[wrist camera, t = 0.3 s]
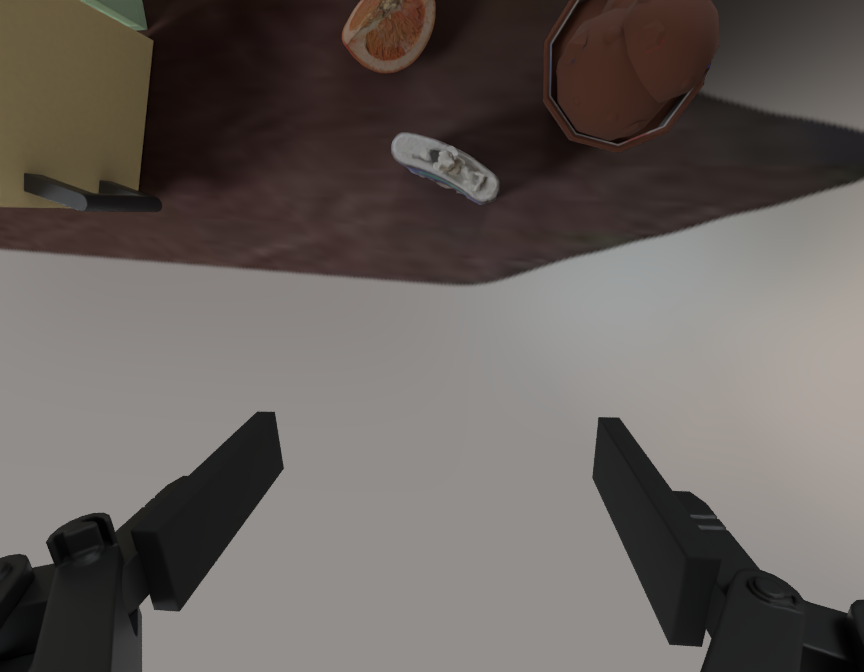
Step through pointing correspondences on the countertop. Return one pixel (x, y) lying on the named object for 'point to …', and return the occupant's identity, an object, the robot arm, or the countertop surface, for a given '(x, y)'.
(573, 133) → the ice cream bowl
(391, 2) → the fruit slice
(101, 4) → the cupboard
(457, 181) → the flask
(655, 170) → the countertop surface
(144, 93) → the door
